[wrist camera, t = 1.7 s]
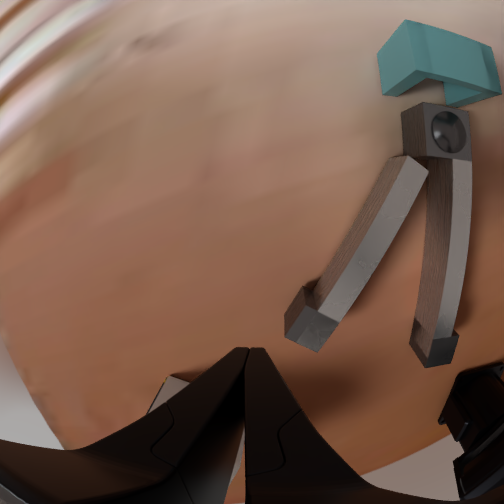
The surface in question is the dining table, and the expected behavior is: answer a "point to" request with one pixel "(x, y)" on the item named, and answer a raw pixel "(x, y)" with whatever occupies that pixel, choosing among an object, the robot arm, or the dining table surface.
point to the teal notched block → (438, 63)
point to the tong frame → (441, 224)
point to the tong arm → (355, 255)
